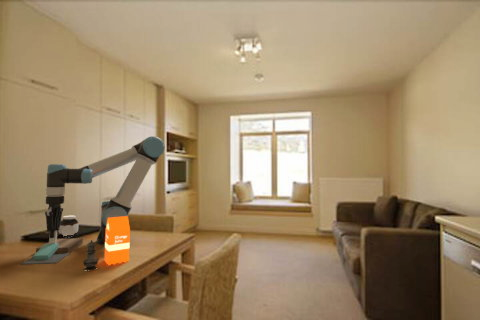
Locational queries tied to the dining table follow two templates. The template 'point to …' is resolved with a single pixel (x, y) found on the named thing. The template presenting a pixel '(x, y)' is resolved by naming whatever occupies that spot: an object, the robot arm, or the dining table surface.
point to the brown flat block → (65, 245)
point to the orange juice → (117, 240)
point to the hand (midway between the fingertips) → (52, 244)
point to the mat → (53, 259)
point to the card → (46, 251)
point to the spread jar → (68, 225)
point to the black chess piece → (90, 257)
